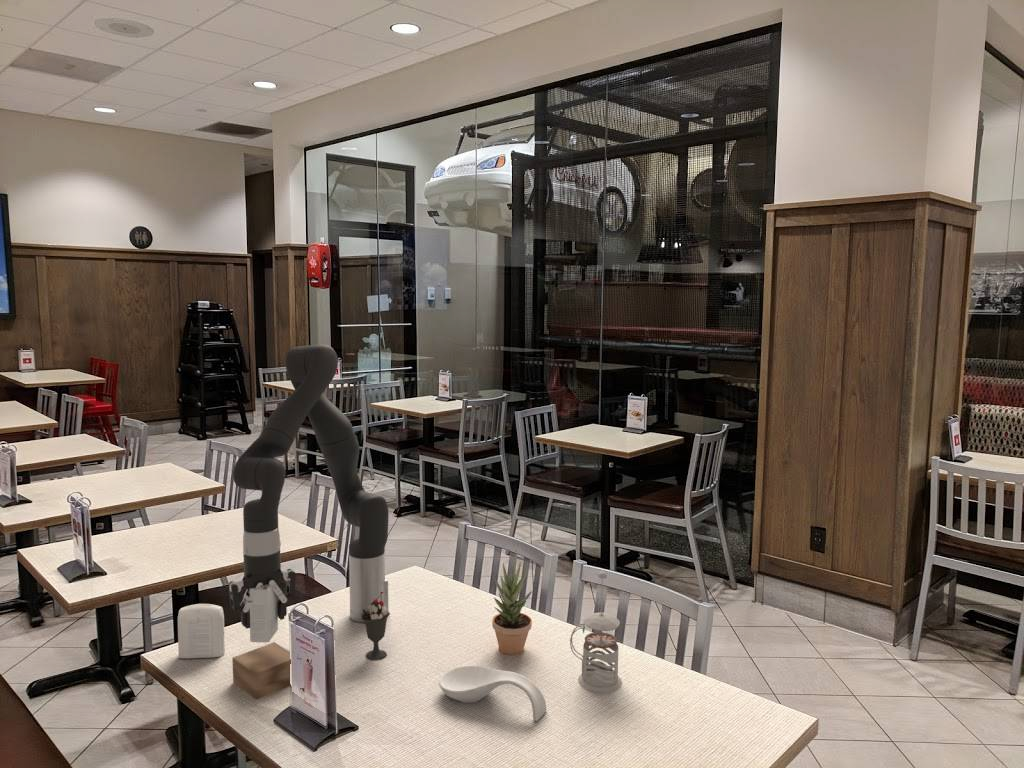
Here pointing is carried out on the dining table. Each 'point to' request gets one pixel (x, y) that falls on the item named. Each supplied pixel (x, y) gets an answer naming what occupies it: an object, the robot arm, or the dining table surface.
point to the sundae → (375, 627)
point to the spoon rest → (488, 685)
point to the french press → (597, 672)
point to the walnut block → (262, 670)
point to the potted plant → (511, 614)
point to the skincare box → (263, 614)
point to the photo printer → (201, 631)
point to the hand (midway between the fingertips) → (264, 622)
